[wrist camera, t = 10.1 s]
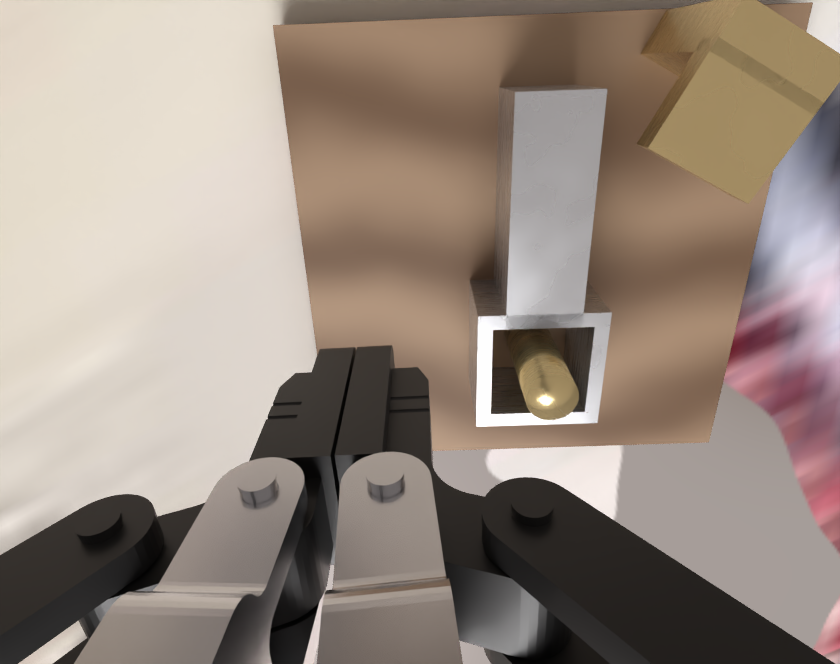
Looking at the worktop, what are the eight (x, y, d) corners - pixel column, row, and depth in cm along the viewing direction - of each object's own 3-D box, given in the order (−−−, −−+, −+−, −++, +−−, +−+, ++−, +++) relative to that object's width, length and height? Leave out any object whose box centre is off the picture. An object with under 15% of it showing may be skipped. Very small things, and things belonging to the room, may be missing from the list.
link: (471, 88, 22) (481, 93, 18) (604, 83, 22) (641, 87, 18) (468, 378, 27) (476, 426, 24) (573, 375, 27) (597, 423, 24)
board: (279, 27, 22) (272, 25, 21) (793, 5, 21) (812, 2, 20) (333, 440, 30) (330, 454, 29) (698, 428, 30) (708, 442, 29)
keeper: (676, 173, 23) (748, 203, 18) (596, 128, 22) (647, 148, 17) (750, 62, 21) (853, 62, 16) (665, 10, 20) (746, -7, 15)
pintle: (504, 310, 26) (527, 376, 20) (547, 309, 26) (581, 374, 20) (503, 348, 27) (524, 420, 21) (544, 347, 27) (576, 419, 21)
